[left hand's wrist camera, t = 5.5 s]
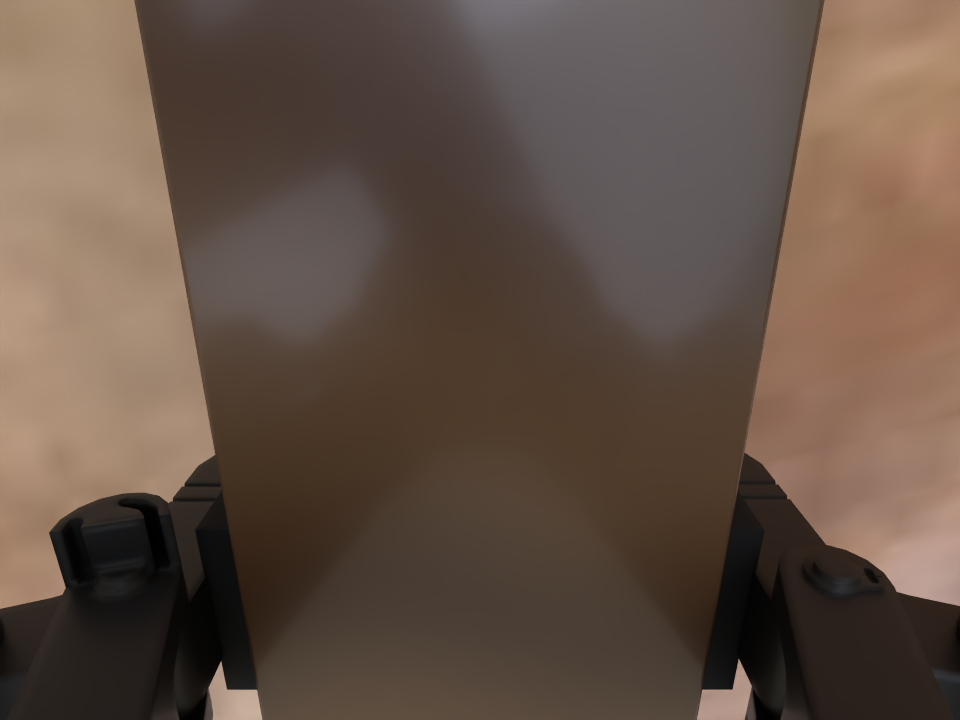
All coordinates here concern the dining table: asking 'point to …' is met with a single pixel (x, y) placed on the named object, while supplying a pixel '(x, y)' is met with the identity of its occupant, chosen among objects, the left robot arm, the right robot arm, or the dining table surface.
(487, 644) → the post
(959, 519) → the dining table surface
